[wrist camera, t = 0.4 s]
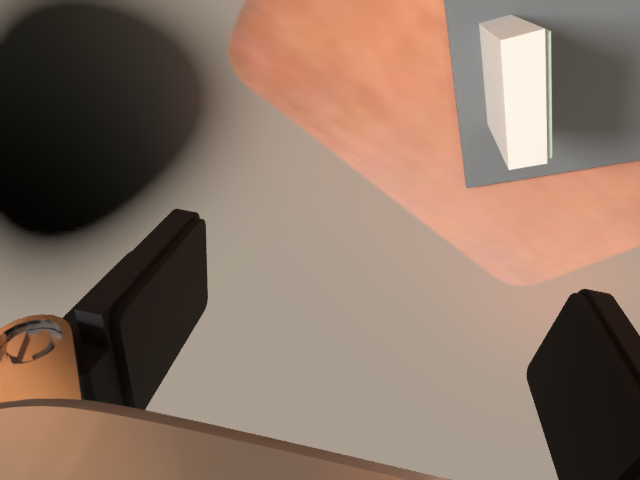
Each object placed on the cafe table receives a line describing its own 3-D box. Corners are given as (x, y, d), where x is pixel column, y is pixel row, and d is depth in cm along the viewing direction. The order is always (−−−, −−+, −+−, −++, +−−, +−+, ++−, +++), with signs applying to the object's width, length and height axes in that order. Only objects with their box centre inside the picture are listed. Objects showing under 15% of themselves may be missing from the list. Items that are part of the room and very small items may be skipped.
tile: (515, 13, 27) (551, 26, 20) (520, 117, 31) (553, 162, 23) (478, 23, 28) (500, 40, 21) (487, 124, 31) (508, 170, 24)
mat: (701, -142, 23) (710, -146, 22) (665, 151, 31) (670, 155, 30) (437, -53, 27) (438, -53, 26) (465, 184, 35) (466, 188, 34)
